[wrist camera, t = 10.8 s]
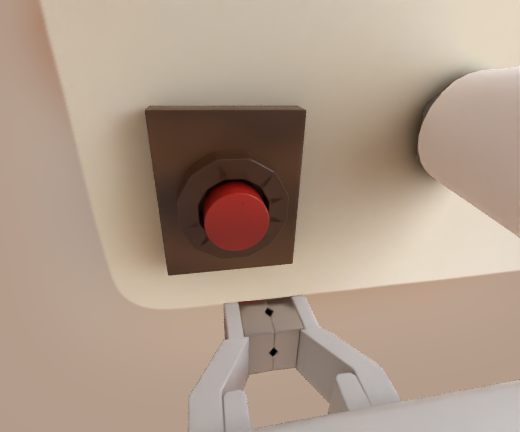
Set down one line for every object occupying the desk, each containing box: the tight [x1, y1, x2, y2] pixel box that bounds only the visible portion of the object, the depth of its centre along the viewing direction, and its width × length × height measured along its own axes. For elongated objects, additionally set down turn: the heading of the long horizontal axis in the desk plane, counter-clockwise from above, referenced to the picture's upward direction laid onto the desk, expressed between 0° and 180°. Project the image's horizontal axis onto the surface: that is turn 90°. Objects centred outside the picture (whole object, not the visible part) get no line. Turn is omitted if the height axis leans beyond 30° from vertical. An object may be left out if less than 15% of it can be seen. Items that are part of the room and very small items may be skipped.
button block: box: [145, 106, 306, 275], centre depth 19 cm, size 11×9×4 cm
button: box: [203, 182, 269, 251], centre depth 18 cm, size 4×4×2 cm
